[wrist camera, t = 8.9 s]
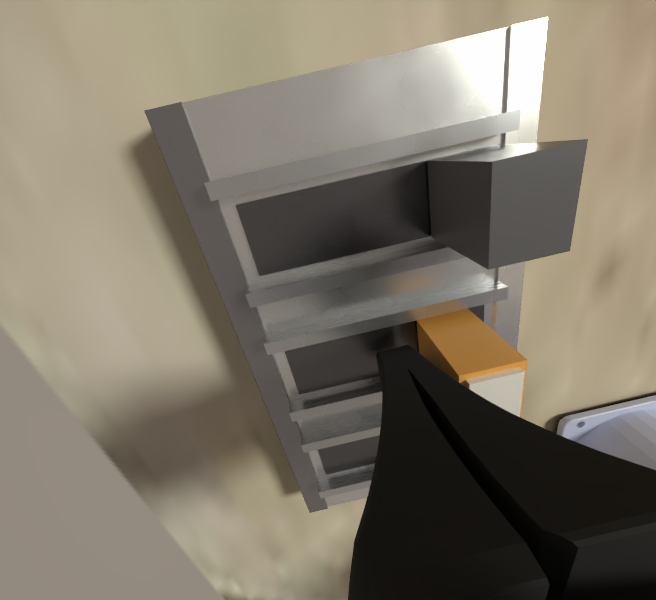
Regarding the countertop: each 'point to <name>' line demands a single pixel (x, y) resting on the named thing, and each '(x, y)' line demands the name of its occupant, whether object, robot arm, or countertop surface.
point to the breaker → (507, 200)
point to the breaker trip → (474, 357)
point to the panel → (347, 226)
